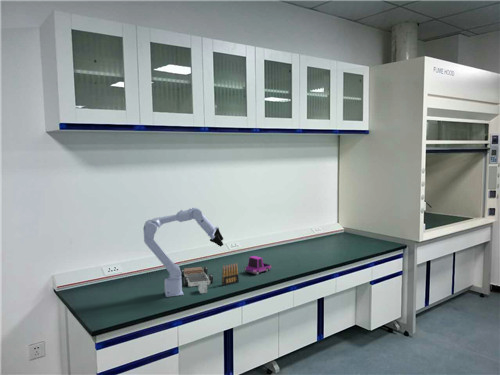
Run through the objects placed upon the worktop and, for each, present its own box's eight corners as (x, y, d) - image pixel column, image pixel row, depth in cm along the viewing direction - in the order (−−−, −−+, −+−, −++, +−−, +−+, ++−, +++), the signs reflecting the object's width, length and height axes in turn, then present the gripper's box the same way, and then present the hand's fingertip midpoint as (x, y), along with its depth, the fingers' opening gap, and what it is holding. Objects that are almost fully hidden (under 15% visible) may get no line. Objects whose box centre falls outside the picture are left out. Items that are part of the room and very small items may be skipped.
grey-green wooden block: (200, 293, 226) (199, 285, 225) (198, 290, 231) (198, 282, 230) (207, 292, 227) (207, 284, 227) (205, 290, 232) (205, 281, 231)
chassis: (185, 287, 236) (185, 279, 235) (179, 275, 259) (179, 267, 259) (213, 284, 241) (213, 276, 240) (205, 272, 264) (205, 264, 264)
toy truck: (243, 272, 263) (243, 257, 262) (260, 267, 274) (260, 253, 273) (255, 276, 256) (255, 260, 255) (272, 270, 267) (272, 255, 266)
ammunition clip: (237, 281, 246) (236, 262, 244) (238, 282, 244) (238, 262, 243) (221, 285, 240) (221, 265, 238) (223, 286, 238) (223, 265, 237)
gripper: (211, 225, 220) (227, 243, 224) (212, 216, 234) (227, 233, 238) (201, 233, 221) (217, 251, 224) (203, 224, 235) (218, 240, 238)
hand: (222, 242), depth 231 cm, fingers open, 7 cm apart
